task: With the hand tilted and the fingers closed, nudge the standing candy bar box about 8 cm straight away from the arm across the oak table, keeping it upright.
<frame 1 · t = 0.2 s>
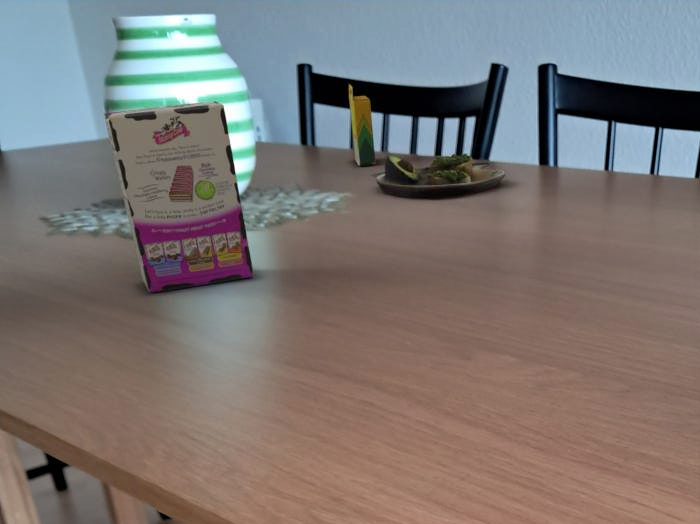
crayon box: (365, 164, 171), on the table
candy bar box: (198, 282, 107), on the table
salad plate: (437, 189, 147), on the table
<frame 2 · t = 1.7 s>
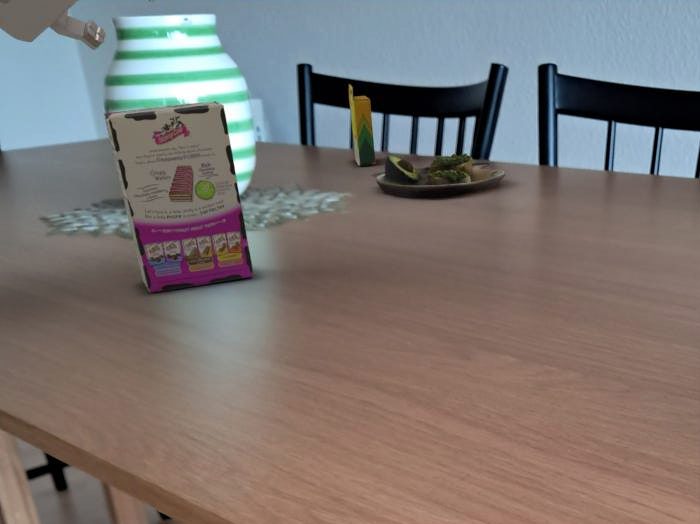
hand: (129, 18, 100), 24 cm above the table, tool tilted 50°, fingers open, 8 cm apart
nothing on the table moved.
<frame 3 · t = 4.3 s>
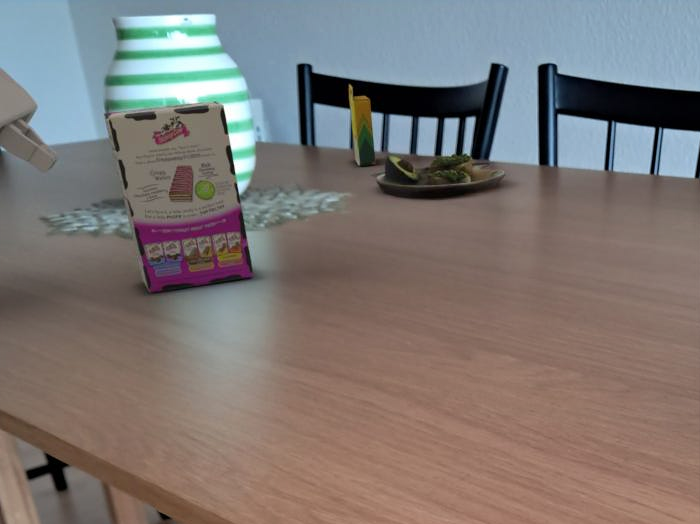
hand: (52, 165, 100), 12 cm above the table, tool tilted 45°, fingers closed
nothing on the table moved.
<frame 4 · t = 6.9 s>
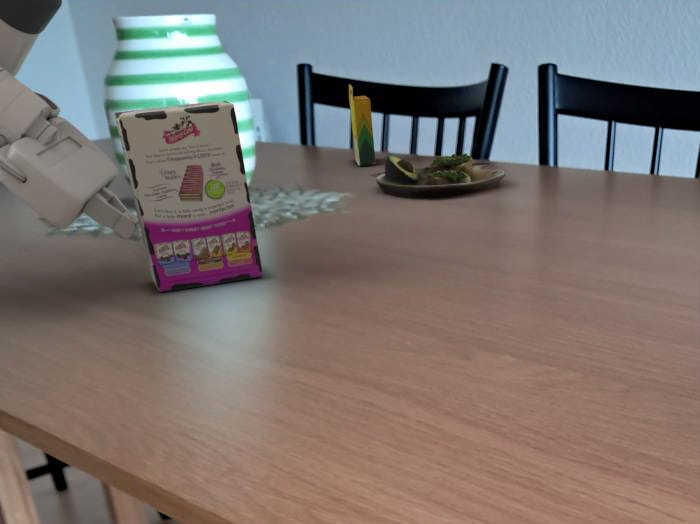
hand: (134, 231, 104), 5 cm above the table, tool tilted 45°, fingers closed
candy bar box: (207, 282, 107), on the table, touching gripper
everything else where it was.
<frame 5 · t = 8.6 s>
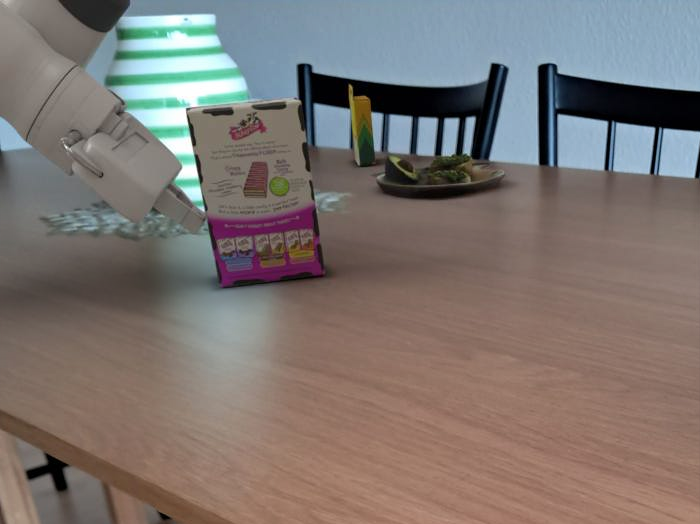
hand: (202, 226, 104), 5 cm above the table, tool tilted 45°, fingers closed, pressing on candy bar box
candy bar box: (270, 278, 107), on the table, touching gripper
everything else where it was.
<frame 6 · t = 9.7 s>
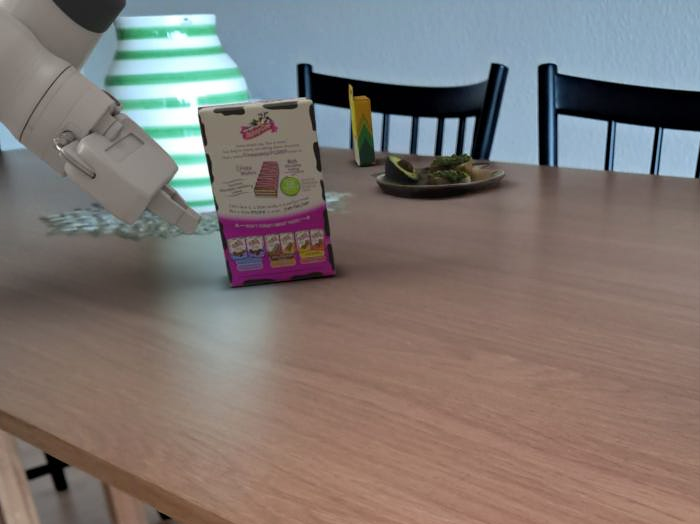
hand: (196, 227, 104), 5 cm above the table, tool tilted 45°, fingers closed
candy bar box: (281, 278, 107), on the table
everything else where it was.
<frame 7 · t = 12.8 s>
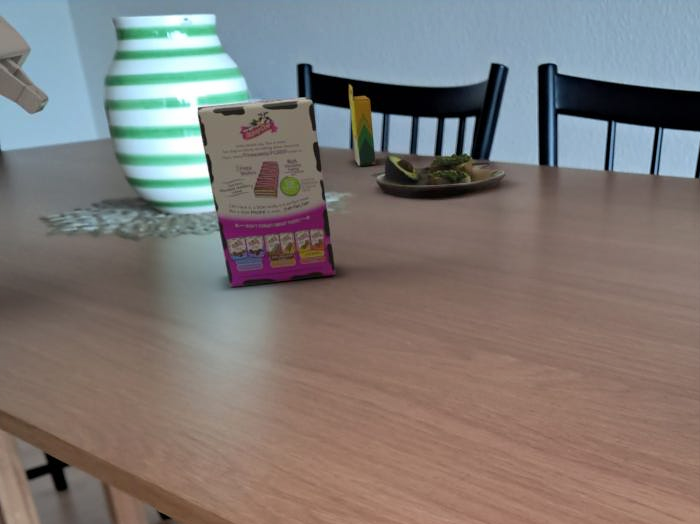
hand: (41, 107, 96), 17 cm above the table, tool tilted 45°, fingers closed
nothing on the table moved.
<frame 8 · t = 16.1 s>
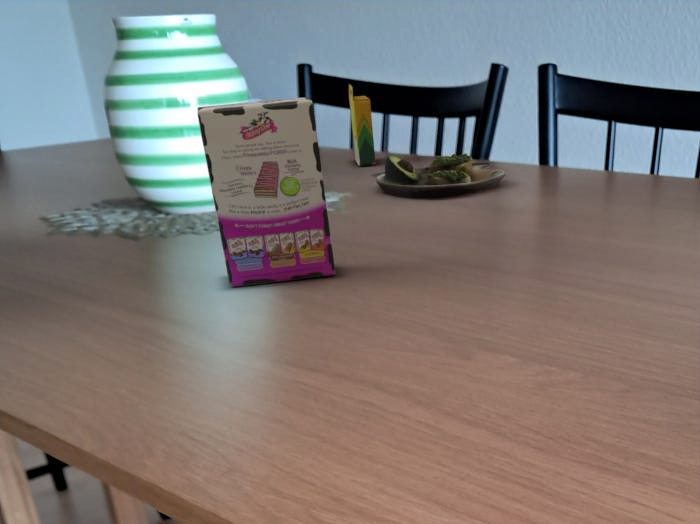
nothing on the table moved.
at the end: candy bar box inside the target area (0.9 cm from its centre), on the table; candy bar box moved 8.9 cm from its start; candy bar box tilted 0° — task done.
